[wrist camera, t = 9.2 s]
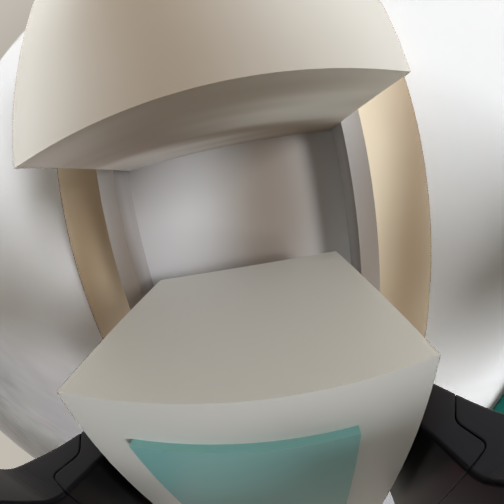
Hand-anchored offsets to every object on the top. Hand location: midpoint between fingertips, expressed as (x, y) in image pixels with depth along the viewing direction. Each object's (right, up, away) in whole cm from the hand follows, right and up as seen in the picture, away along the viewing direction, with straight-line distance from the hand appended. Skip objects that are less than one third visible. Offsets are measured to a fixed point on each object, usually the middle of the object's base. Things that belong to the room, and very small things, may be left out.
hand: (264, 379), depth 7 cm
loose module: (0, 0, +1) cm, 1 cm away
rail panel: (0, +1, +4) cm, 4 cm away
